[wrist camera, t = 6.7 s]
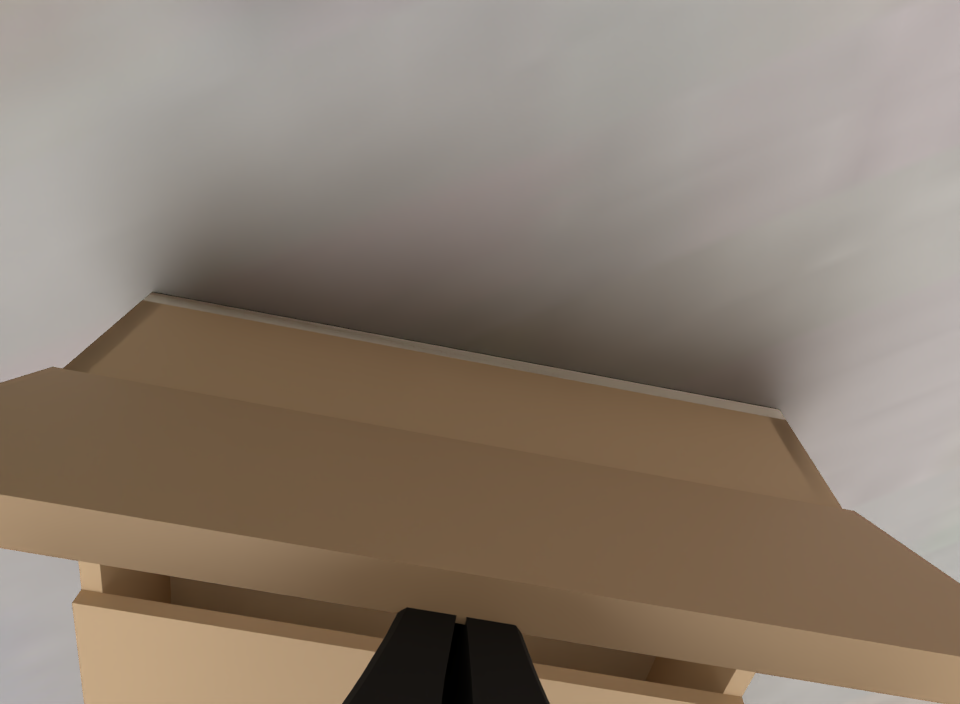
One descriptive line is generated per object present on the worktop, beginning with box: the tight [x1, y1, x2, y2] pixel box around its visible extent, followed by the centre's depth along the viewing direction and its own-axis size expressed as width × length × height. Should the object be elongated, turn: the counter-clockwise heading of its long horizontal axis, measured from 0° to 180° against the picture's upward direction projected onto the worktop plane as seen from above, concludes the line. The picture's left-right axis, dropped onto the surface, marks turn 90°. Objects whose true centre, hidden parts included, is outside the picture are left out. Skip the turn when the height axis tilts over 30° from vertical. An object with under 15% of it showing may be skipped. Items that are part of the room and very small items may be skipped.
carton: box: [63, 292, 842, 704], centre depth 23 cm, size 14×20×6 cm
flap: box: [0, 367, 960, 704], centre depth 14 cm, size 7×20×1 cm
